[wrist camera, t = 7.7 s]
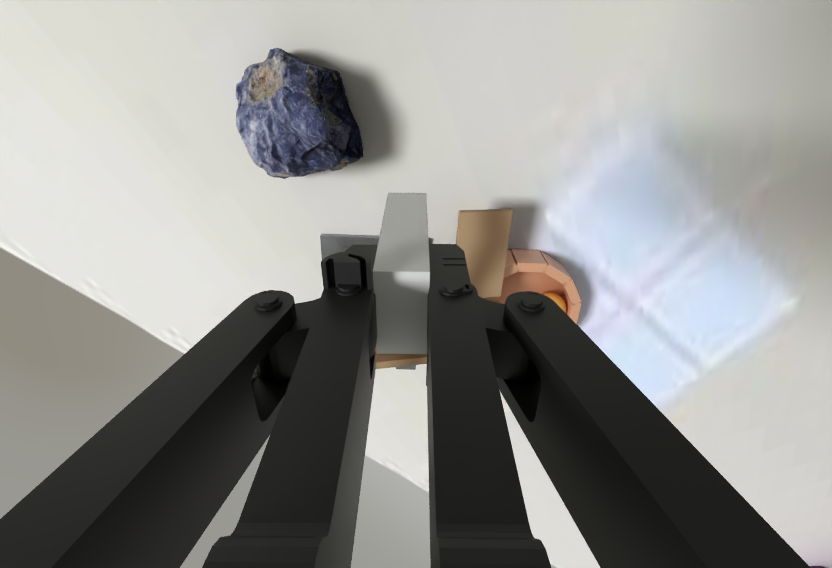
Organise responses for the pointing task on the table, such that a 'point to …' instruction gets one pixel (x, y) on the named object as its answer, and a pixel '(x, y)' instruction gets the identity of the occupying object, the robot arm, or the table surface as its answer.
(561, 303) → the ball
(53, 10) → the table surface
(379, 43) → the table surface
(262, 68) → the rock
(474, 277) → the lever
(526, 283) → the terracotta bowl
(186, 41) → the table surface
